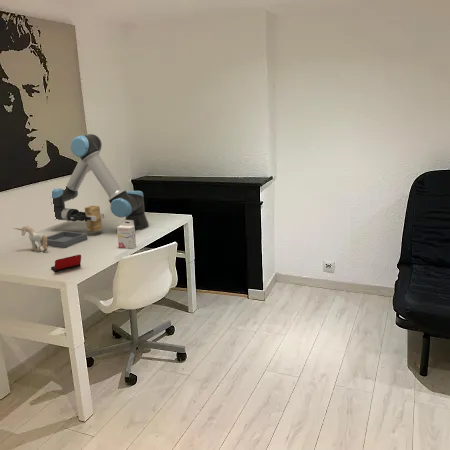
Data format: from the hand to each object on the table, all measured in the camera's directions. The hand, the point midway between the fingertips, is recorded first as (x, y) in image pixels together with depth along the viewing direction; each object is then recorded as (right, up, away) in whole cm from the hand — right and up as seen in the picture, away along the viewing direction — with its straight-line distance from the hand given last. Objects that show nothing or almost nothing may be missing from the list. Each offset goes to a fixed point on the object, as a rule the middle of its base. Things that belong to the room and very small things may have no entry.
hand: (99, 217), depth 289 cm
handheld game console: (-2, -26, -53) cm, 59 cm away
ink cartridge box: (+21, -17, -23) cm, 35 cm away
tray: (-18, -14, -8) cm, 25 cm away
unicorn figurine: (-30, -19, -24) cm, 43 cm away
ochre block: (-4, -7, +4) cm, 9 cm away
